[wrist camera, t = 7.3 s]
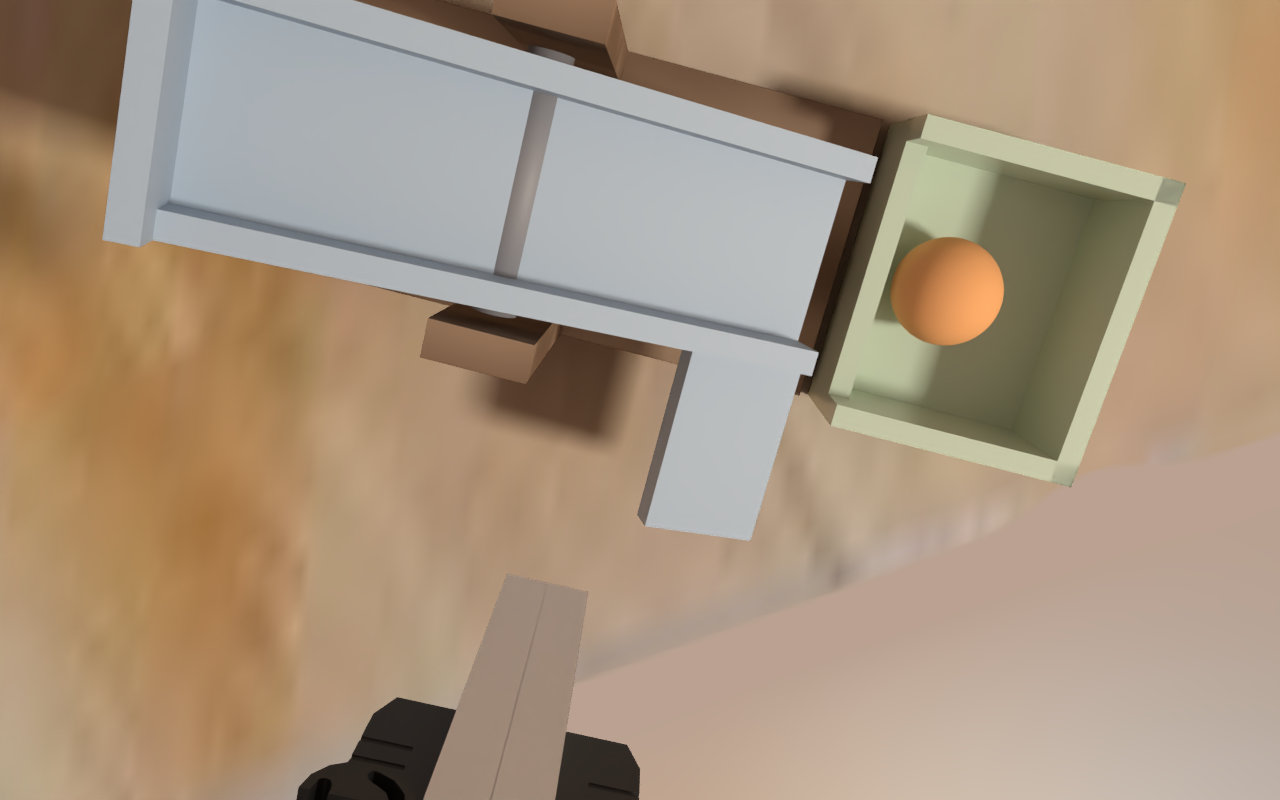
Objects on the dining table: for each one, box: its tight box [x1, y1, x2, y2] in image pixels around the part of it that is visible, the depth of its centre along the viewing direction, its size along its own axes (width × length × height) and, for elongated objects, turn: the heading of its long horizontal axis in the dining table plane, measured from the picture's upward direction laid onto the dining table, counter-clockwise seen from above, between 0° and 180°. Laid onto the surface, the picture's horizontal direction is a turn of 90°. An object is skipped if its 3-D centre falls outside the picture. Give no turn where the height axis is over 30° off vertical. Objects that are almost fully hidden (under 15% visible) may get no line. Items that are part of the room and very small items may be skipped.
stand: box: [354, 0, 882, 395], centre depth 32 cm, size 11×23×11 cm, turn 76°
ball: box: [890, 237, 1004, 345], centre depth 35 cm, size 4×4×4 cm
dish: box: [808, 114, 1186, 487], centre depth 35 cm, size 11×9×5 cm
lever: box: [103, 0, 878, 541], centre depth 27 cm, size 14×20×4 cm
